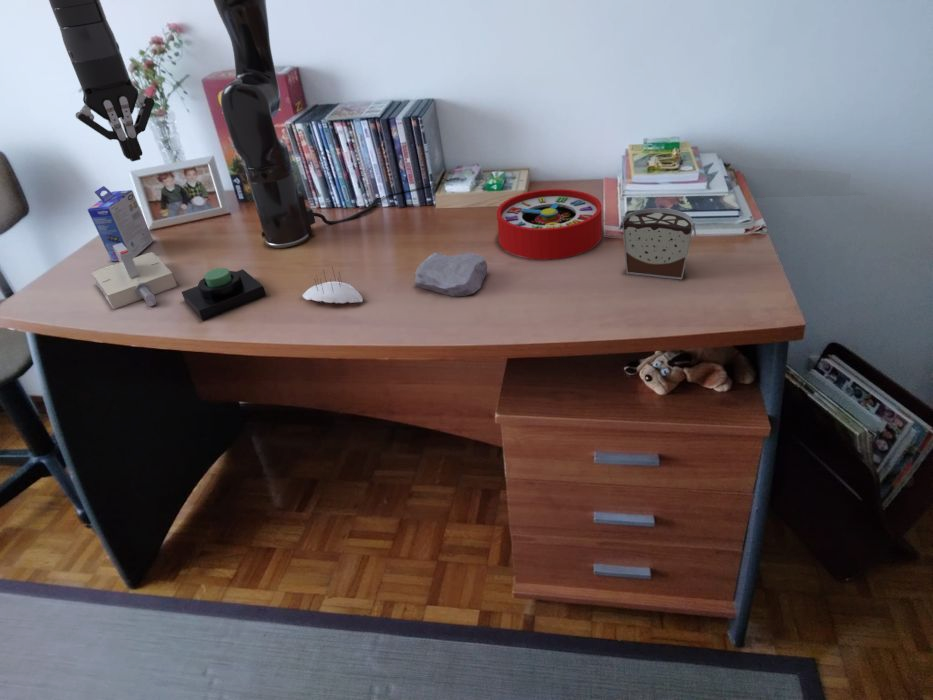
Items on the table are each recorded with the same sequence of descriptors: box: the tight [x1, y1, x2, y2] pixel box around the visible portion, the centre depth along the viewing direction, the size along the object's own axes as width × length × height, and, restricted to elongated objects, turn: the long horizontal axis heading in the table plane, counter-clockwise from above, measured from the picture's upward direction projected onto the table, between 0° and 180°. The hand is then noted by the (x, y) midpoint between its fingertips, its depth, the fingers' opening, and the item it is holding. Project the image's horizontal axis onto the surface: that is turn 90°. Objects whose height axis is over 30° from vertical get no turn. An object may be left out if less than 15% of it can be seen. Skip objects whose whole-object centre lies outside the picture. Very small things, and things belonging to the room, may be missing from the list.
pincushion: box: [301, 266, 364, 305], centre depth 118 cm, size 12×6×6 cm, turn 70°
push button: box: [203, 267, 232, 287], centre depth 122 cm, size 4×4×2 cm
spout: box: [135, 282, 157, 307], centre depth 125 cm, size 3×5×3 cm, turn 37°
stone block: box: [414, 252, 488, 298], centre depth 119 cm, size 12×5×10 cm
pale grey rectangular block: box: [113, 243, 140, 279], centre depth 130 cm, size 6×2×5 cm, turn 37°
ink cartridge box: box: [87, 185, 154, 262], centre depth 144 cm, size 10×6×14 cm, turn 174°
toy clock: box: [496, 188, 603, 260], centre depth 131 cm, size 20×6×20 cm
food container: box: [618, 207, 697, 280], centre depth 114 cm, size 12×6×10 cm, turn 65°
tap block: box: [91, 251, 178, 310], centre depth 132 cm, size 12×14×3 cm
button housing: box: [181, 268, 267, 322], centre depth 123 cm, size 12×10×4 cm
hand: (135, 159), depth 118 cm, fingers closed
